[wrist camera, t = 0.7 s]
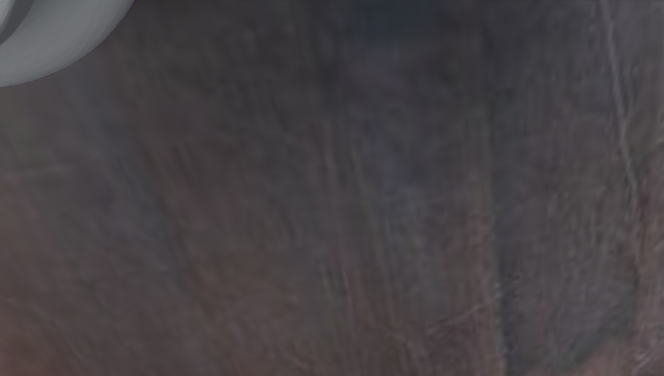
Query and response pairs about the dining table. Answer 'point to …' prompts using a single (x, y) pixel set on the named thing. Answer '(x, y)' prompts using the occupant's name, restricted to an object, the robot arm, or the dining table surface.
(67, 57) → the supplement bottle
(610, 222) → the dining table surface
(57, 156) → the dining table surface
